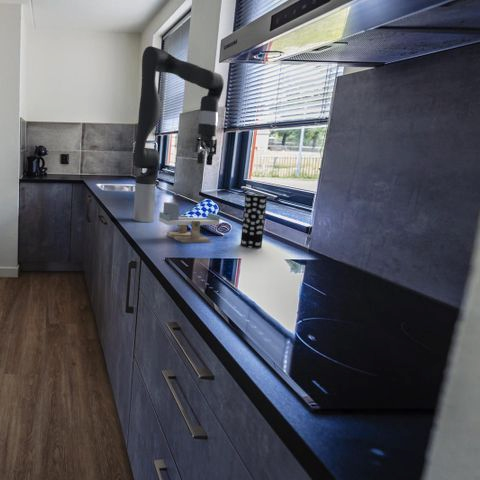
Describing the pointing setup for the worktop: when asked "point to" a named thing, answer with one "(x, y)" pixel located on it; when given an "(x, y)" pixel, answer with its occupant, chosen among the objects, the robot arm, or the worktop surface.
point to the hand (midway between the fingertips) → (204, 164)
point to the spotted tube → (253, 220)
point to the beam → (189, 220)
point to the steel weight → (171, 210)
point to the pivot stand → (189, 233)
